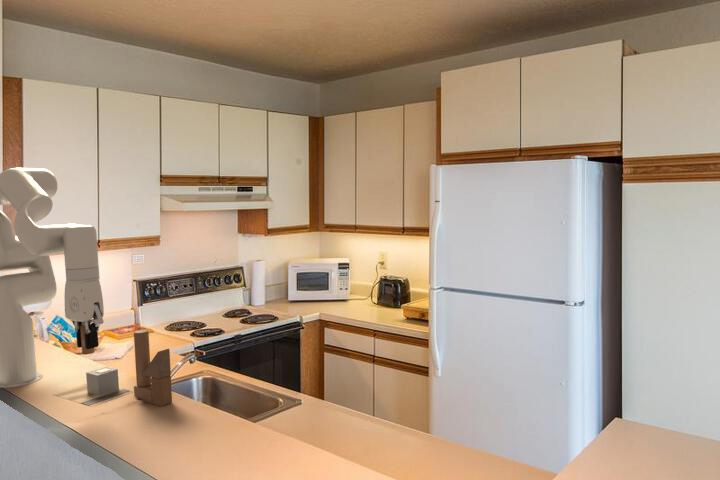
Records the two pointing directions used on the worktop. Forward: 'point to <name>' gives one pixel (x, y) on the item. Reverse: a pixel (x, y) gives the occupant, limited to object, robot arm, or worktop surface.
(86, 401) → the panel
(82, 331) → the grey-capped wooden cylinder
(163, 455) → the worktop surface
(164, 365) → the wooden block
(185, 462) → the worktop surface
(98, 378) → the block
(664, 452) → the worktop surface
